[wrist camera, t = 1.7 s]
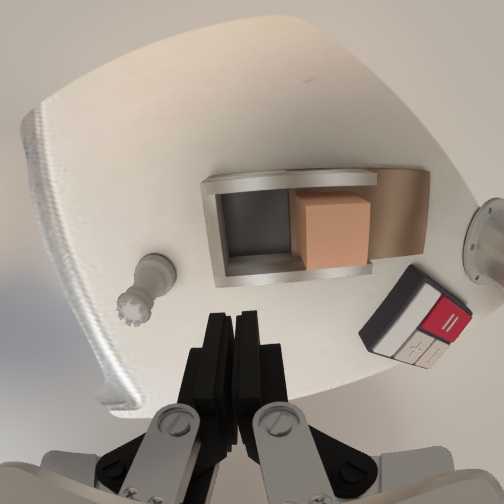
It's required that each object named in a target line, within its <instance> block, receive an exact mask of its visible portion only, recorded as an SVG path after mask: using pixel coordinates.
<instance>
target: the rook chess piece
mask: <svg viewBox="0 0 504 504" xmlns="http://www.w3.org/2000/svg"><path fill="white" fill-rule="evenodd" d="M175 280H176V276H175V270H174V268H173V266H172V264H171V263H170V262H169V261H168V260H166V259H165V258H163V257H161V256H159V255H148V256H145V257H143V258H142V259H141V260H140V261H139V263H138V265H137V266H136V269H135V272H134V281H135V282H134V284H133V286H131V287H129V288H128V290H127V291H126V292H125V293H122V294H121V295H120V296H119V297H118V301H117V305H118V306H117V311H119V314H118V317H119V318H120V320H121V319H123V318H124V319H126V320H127V321H126V322H125V324H127V325H129V326H130V325H131V323H134V326H135V327H136V326H139V325H140V324H141V323H145V322H147V321H148V320H149V319H150V316H151V309H152V308H153V305H154V300H155V299H156V298H157V297H160V296H163V295H165V294H166V293H167V292H169V291H170V290H171V287H173V285H174V283H175Z"/></svg>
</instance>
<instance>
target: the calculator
mask: <svg viewBox="0 0 504 504" xmlns="http://www.w3.org/2000/svg"><path fill="white" fill-rule="evenodd" d="M472 314H473V313H472V311H471V310H470V309H469V308H468V307H466V306H465V305H464V304H463V303H462V302H461V301H460V300H458V299H457V298H456V297H455V296H453V295H452V294H451V293H449V292H448V291H447V290H446V289H444V288H443V287H442V286H440V285H439V284H438V283H436V282H435V281H434V280H432V279H431V278H430V277H428V276H427V275H426V274H424V273H423V272H422V271H420V270H419V269H417V268H416V267H415V266H413V265H409V266H408V267H407V269H406V270H405V272H404V273H403V275H402V276H401V278H400V279H399V280H398V282H397V283H396V285H395V286H394V287H393V289H392V290H391V292H390V293H389V294H388V296H387V297H386V298H385V300H384V301H383V302H382V304H381V305H380V306H379V308H378V309H377V310H376V312H375V313H374V314H373V315H372V317H371V318H370V319H369V320H368V322H367V323H366V324H365V325H364V327H363V328H362V329H361V330H360V331H359V336H360V338H361V339H362V341H363V343H364V345H365V347H366V349H367V350H368V352H371V353H374V354H377V355H381V356H384V357H387V358H390V359H394V360H397V361H400V362H404V363H408V364H411V365H415V366H419V367H422V368H426V369H430V368H431V367H432V366H433V365H434V364H435V363H436V362H437V361H438V359H440V357H441V356H442V355H443V354H444V353H445V352H446V351H447V349H448V348H449V347H450V345H449V344H450V343H451V342H454V341H455V340H456V338H457V337H458V336H459V335H460V333H461V332H462V331H463V330H464V328H465V327H466V326H467V324H468V323H469V322H470V320H471V319H472Z"/></svg>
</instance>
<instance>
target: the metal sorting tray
mask: <svg viewBox="0 0 504 504" xmlns="http://www.w3.org/2000/svg"><path fill="white" fill-rule="evenodd" d="M200 184H201V192H202V200H203V208H204V215H205V222H206V229H207V236H208V243H209V250H210V256H211V263H212V269H213V275H214V281H215V287H216V288H223V287H237V286H250V285H263V284H275V283H287V282H298V281H309V280H319V279H329V278H338V277H348V276H357V275H365V274H372V263H371V262H370V260H369V259H379V258H389V257H398V256H408V255H417V254H423V251H424V244H425V237H426V228H427V219H428V207H429V192H430V172H429V171H425V170H417V169H395V168H315V169H292V170H275V171H261V172H249V173H238V174H228V175H218V176H209V177H208V178H206V179H205V180H204V181H203V182H201V183H200ZM337 191H349V192H351V193H353V194H355V195H357V196H359V197H360V198H362V199H364V200H366V201H368V202H370V228H369V244H368V257H367V265H357V266H348V267H338V268H327V269H317V270H306V267H305V265H304V263H303V260H302V258H301V255H300V253H299V251H298V249H297V237H296V210H295V194H296V193H314V192H337Z"/></svg>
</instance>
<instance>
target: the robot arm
mask: <svg viewBox="0 0 504 504" xmlns="http://www.w3.org/2000/svg"><path fill="white" fill-rule="evenodd" d="M463 259H464V268H465V271H466V274H467V276H468V277H469V278H470V279H471V280H472V281H473V282H474V283H476V284H478V285H484V284H487V283H489V282H492V283H493V284H494V285H495V286H497V287H498V288H499V289H500V290H502V291H503V292H504V199H501V198H493V199H490V200H488V201H487V202H485V203H484V204H483V206H481V208H480V209H479V210H478V212H477V213H476V215H475V217H474V218H473V220H472V222H471V225H470V227H469V230H468V233H467V236H466V240H465V245H464V254H463ZM238 427H239V431H240V434H241V438H242V442H243V444H245V446H246V450H247V453H248V457H250V458H251V459H252V460H254V461H255V462H256V463H258V464H259V465H260V467H261V472H262V476H263V481H264V485H265V490H266V494H267V499H268V503H269V504H504V490H503V489H502V487H501V485H500V484H499V482H498V481H497V479H496V478H495V477H494V476H493V475H492V474H491V473H489V472H488V471H485V470H481V469H464V470H456V471H454V464H453V458H452V455H451V452H450V451H448V450H447V449H446V448H444V447H441V446H433V447H428V448H422V449H416V450H409V451H402V452H393V453H382V454H381V455H380V456H368V455H367V454H365V453H363V452H360V451H358V450H356V449H354V448H352V447H350V446H348V445H346V444H344V443H342V442H340V441H338V440H336V439H334V438H332V437H330V436H328V435H326V434H324V433H323V432H321V431H319V430H317V429H315V428H313V427H312V426H310V425H308V424H307V421H306V418H305V415H304V414H303V412H302V410H301V409H299V408H298V407H297V406H296V405H293V404H291V403H288V397H287V390H286V382H285V374H284V367H283V359H282V352H281V345H280V343H278V344H266V345H260V338H259V328H258V317H257V310H254V311H242V315H238V316H236V329H235V338H234V332H233V326H232V319H231V316H226V314H225V312H224V313H210V314H209V319H208V323H207V328H206V333H205V337H204V342H203V347H202V348H191V349H190V352H189V356H188V360H187V364H186V368H185V372H184V376H183V380H182V384H181V388H180V392H179V396H178V401H177V403H175V404H170V405H167V406H165V407H163V408H161V409H160V410H159V411H157V413H156V414H155V416H154V417H153V419H152V421H151V424H150V426H149V428H148V430H147V432H146V433H144V434H142V435H141V436H139V437H137V438H135V439H133V440H132V441H130V442H128V443H126V444H124V445H122V446H121V447H118V448H117V449H115V450H113V451H111V452H109V453H107V454H105V455H104V456H103V457H98V456H97V455H96V454H83V453H72V452H63V451H49V452H47V453H46V454H45V455H44V456H43V458H42V461H41V466H40V467H39V466H36V465H33V464H29V463H24V462H5V463H1V464H0V504H210V501H211V497H212V493H213V490H214V486H215V482H216V478H217V474H218V470H219V464H220V461H222V460H223V459H224V458H226V457H227V452H231V450H232V445H237V437H238V436H237V435H238Z"/></svg>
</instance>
